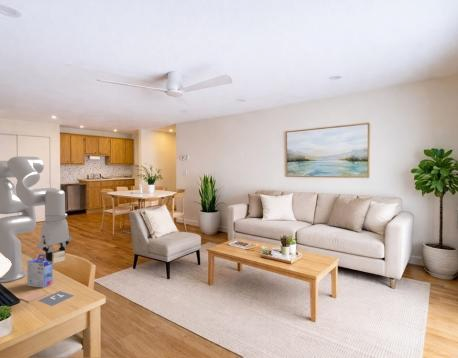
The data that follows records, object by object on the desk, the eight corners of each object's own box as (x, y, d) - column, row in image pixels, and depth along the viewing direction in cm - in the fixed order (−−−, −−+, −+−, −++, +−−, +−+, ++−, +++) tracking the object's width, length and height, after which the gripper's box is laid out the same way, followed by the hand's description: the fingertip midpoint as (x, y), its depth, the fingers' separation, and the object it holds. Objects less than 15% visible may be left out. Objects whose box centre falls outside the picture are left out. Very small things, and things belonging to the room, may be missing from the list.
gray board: (37, 300, 118) (37, 300, 118) (60, 291, 127) (60, 290, 127) (52, 306, 114) (52, 305, 114) (74, 295, 123) (74, 295, 123)
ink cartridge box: (53, 283, 136) (53, 254, 135) (44, 288, 130) (43, 258, 129) (37, 281, 138) (36, 253, 137) (26, 286, 132) (26, 256, 131)
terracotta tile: (19, 298, 120) (19, 297, 120) (36, 292, 126) (36, 291, 126) (29, 302, 117) (29, 301, 117) (46, 295, 123) (46, 294, 123)
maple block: (46, 261, 120) (46, 252, 120) (57, 257, 125) (57, 249, 124) (53, 263, 118) (53, 254, 118) (65, 260, 123) (64, 251, 122)
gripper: (68, 214, 129) (68, 251, 131) (29, 220, 114) (29, 263, 115) (78, 215, 126) (79, 254, 127) (40, 222, 111) (40, 266, 112)
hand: (55, 258), depth 121 cm, fingers closed on maple block, 5 cm apart
